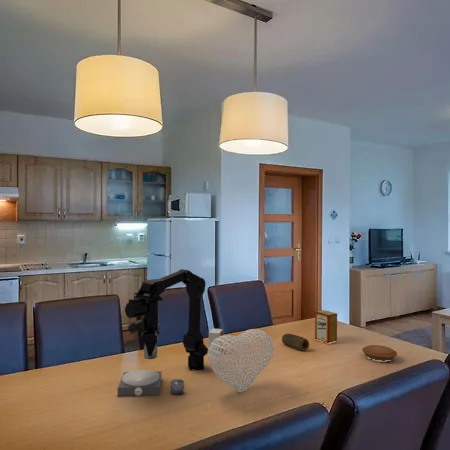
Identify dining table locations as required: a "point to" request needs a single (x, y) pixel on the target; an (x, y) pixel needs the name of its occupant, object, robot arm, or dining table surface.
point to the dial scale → (140, 383)
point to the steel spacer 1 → (154, 354)
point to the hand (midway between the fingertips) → (150, 353)
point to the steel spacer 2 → (177, 387)
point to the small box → (213, 335)
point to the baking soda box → (326, 326)
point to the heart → (233, 340)
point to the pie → (379, 352)
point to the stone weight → (295, 341)
